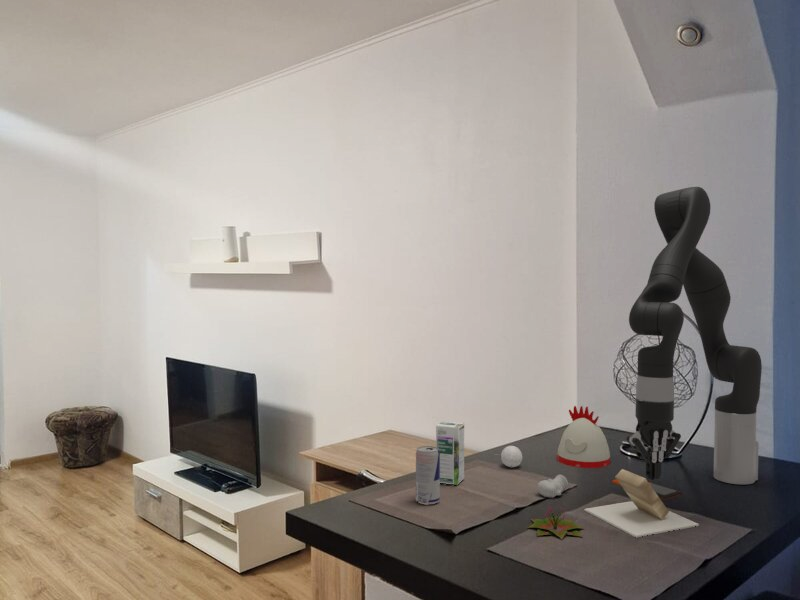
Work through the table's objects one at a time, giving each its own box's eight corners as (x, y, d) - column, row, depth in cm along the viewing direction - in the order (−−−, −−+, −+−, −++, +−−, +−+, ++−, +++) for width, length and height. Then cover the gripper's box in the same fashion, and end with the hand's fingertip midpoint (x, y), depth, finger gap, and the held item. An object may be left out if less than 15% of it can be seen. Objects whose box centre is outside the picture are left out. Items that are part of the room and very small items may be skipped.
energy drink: (443, 499, 153) (443, 447, 152) (434, 507, 148) (434, 453, 147) (421, 496, 155) (421, 444, 154) (412, 503, 150) (412, 450, 150)
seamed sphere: (525, 466, 179) (525, 445, 179) (517, 471, 174) (517, 449, 174) (499, 461, 183) (499, 441, 183) (490, 466, 178) (490, 445, 178)
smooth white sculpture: (547, 505, 153) (532, 492, 157) (572, 498, 157) (557, 486, 161) (551, 489, 151) (535, 476, 155) (576, 482, 156) (561, 470, 160)
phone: (628, 475, 169) (682, 491, 156) (628, 480, 169) (682, 496, 156) (611, 479, 165) (665, 496, 152) (611, 484, 165) (665, 502, 153)
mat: (643, 501, 152) (643, 499, 151) (698, 526, 137) (698, 524, 137) (584, 510, 146) (584, 508, 146) (635, 537, 131) (636, 535, 131)
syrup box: (435, 483, 164) (435, 424, 163) (442, 477, 170) (443, 419, 169) (457, 486, 162) (457, 426, 161) (464, 479, 167) (464, 421, 167)
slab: (645, 500, 146) (622, 468, 143) (669, 511, 139) (645, 477, 137) (638, 509, 145) (614, 476, 143) (661, 520, 139) (638, 486, 136)
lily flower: (521, 519, 142) (521, 498, 142) (579, 520, 141) (579, 498, 141) (529, 542, 130) (529, 519, 130) (592, 543, 129) (593, 519, 129)
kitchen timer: (569, 451, 194) (569, 399, 193) (616, 459, 186) (617, 405, 185) (549, 462, 183) (550, 407, 182) (599, 471, 175) (600, 413, 174)
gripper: (666, 392, 147) (664, 470, 148) (617, 396, 142) (616, 477, 143) (692, 398, 140) (691, 480, 141) (642, 402, 135) (640, 487, 136)
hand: (653, 478), depth 142 cm, fingers closed
